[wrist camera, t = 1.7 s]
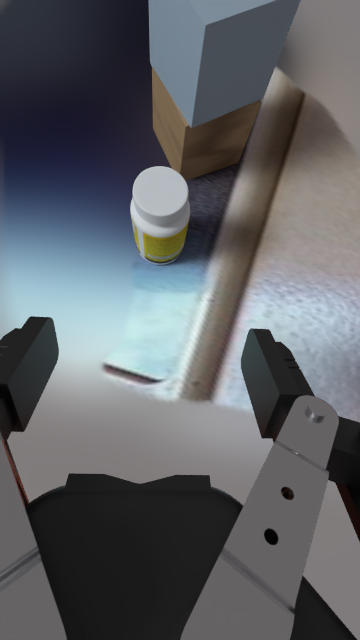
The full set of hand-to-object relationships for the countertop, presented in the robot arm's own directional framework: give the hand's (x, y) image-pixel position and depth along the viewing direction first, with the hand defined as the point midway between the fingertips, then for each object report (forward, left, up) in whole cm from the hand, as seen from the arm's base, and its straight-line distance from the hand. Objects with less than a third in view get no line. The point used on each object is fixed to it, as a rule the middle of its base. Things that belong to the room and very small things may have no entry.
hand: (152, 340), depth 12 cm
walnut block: (-13, -19, -15) cm, 28 cm away
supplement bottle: (-5, -10, -15) cm, 19 cm away
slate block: (-13, -19, -8) cm, 24 cm away
